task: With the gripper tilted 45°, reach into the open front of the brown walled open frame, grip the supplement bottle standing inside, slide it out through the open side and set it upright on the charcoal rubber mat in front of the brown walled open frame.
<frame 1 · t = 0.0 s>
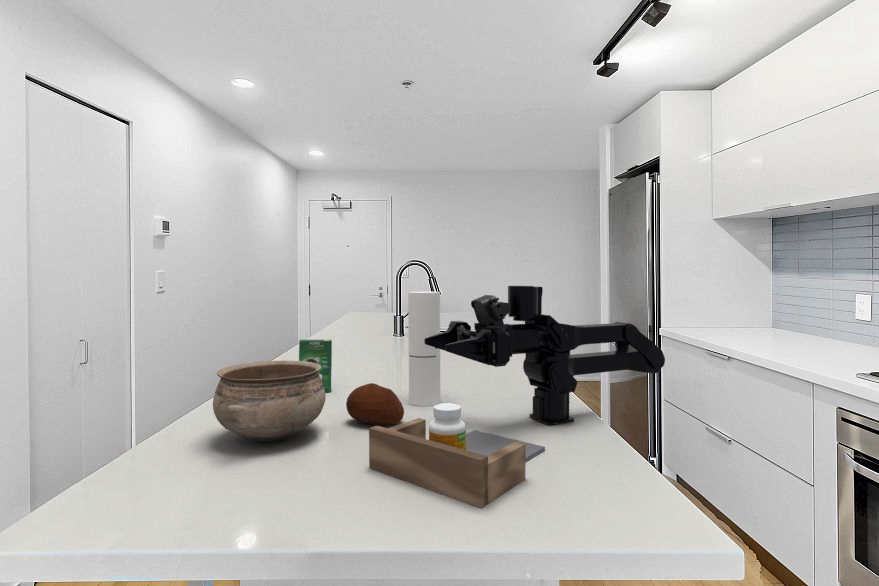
hand: (434, 344, 87), 17 cm above the countertop, tool horizontal, fingers open, 9 cm apart
cooking pot: (271, 438, 88), on the countertop
potato: (374, 425, 95), on the countertop
supplement bottle: (447, 473, 72), on the countertop
brown walled open frame: (447, 472, 72), on the countertop
coffee box: (315, 392, 121), on the countertop
cylindrical container: (424, 402, 112), on the countertop
mat: (489, 450, 81), on the countertop
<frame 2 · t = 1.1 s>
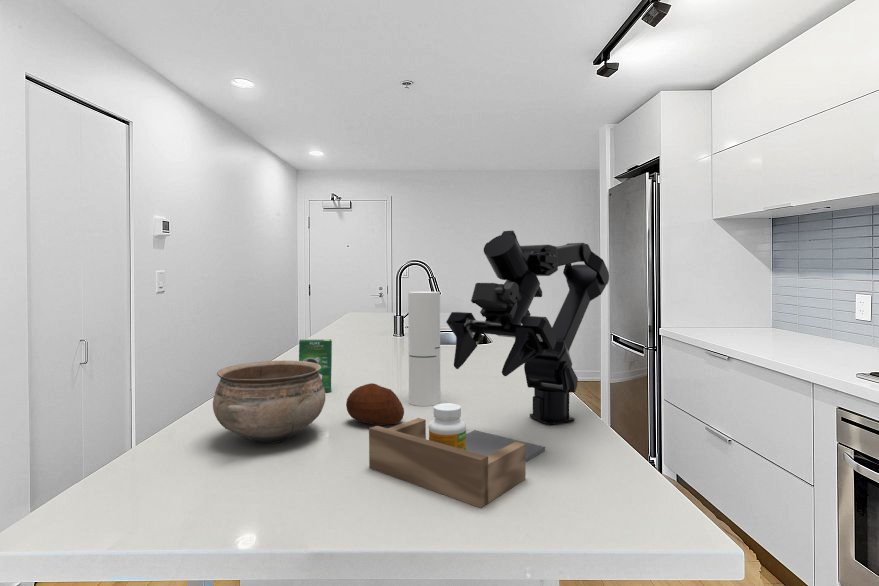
hand: (478, 370, 78), 14 cm above the countertop, tool tilted 45°, fingers open, 9 cm apart
nothing on the countertop moved.
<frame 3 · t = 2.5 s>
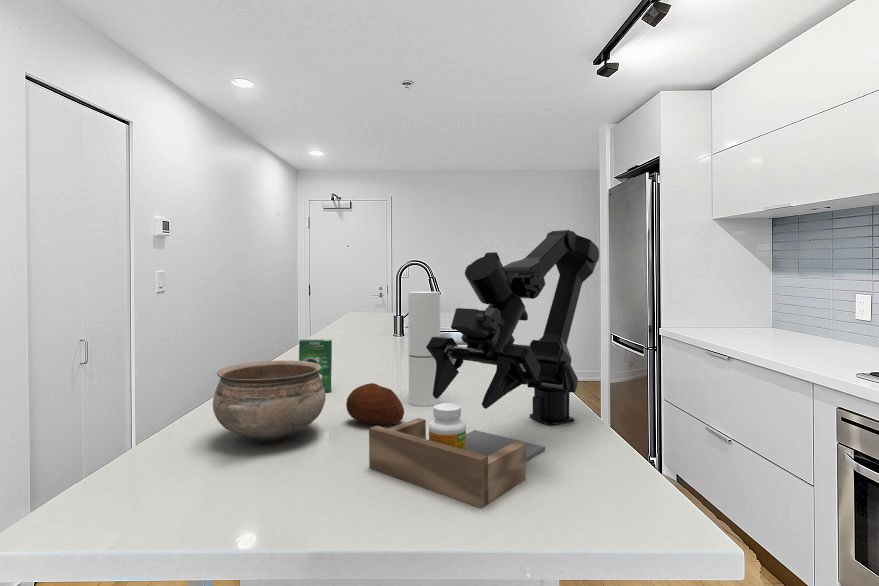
hand: (458, 401, 74), 10 cm above the countertop, tool tilted 45°, fingers open, 9 cm apart
nothing on the countertop moved.
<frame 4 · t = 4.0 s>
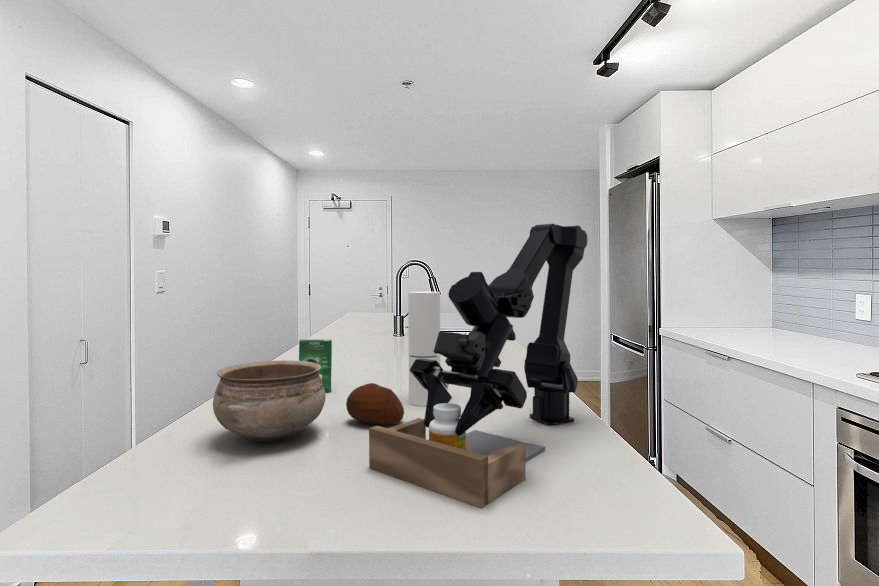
hand: (441, 429, 71), 7 cm above the countertop, tool tilted 45°, fingers closed on supplement bottle, 5 cm apart
supplement bottle: (447, 473, 72), on the countertop, touching gripper
everything else where it was.
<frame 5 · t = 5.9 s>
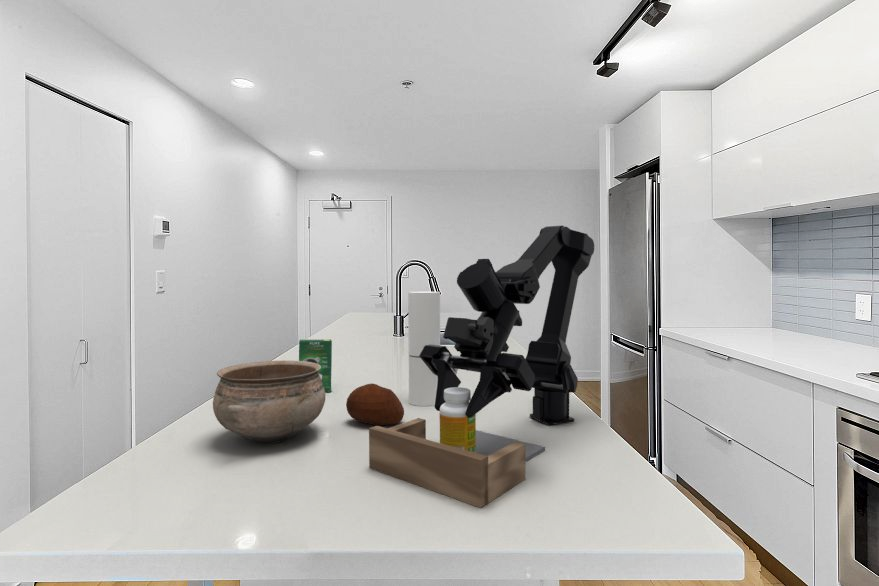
hand: (451, 412, 72), 9 cm above the countertop, tool tilted 45°, fingers closed on supplement bottle, 5 cm apart
supplement bottle: (457, 455, 74), point 2 cm above the countertop, touching gripper
everything else where it was.
when the fingers open (8 cm above the countertop, at t = 8.0 s): supplement bottle stays where it is, resting on mat.
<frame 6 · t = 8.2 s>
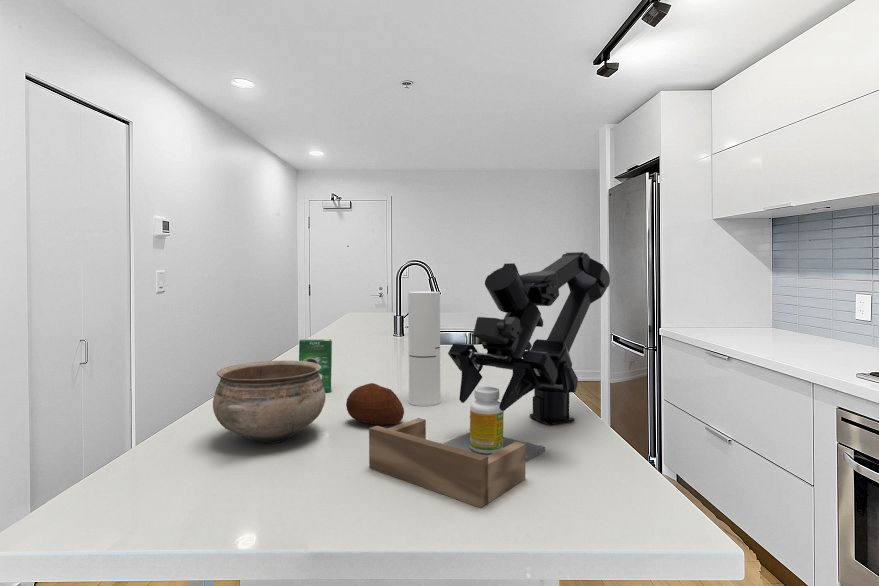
hand: (480, 405, 78), 8 cm above the countertop, tool tilted 45°, fingers open, 7 cm apart
supplement bottle: (486, 449, 80), resting on mat
everything else where it was.
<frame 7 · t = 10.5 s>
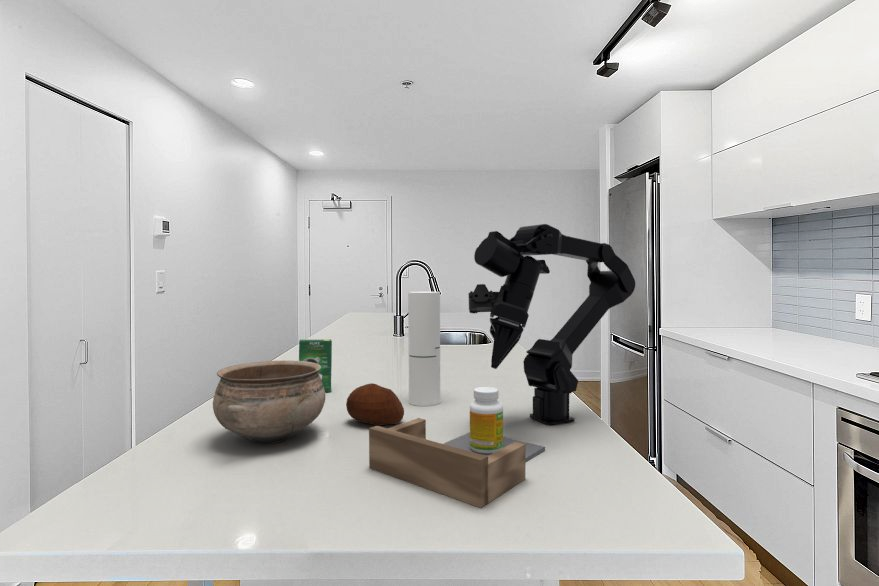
hand: (493, 366, 89), 12 cm above the countertop, tool tilted 25°, fingers open, 9 cm apart
nothing on the countertop moved.
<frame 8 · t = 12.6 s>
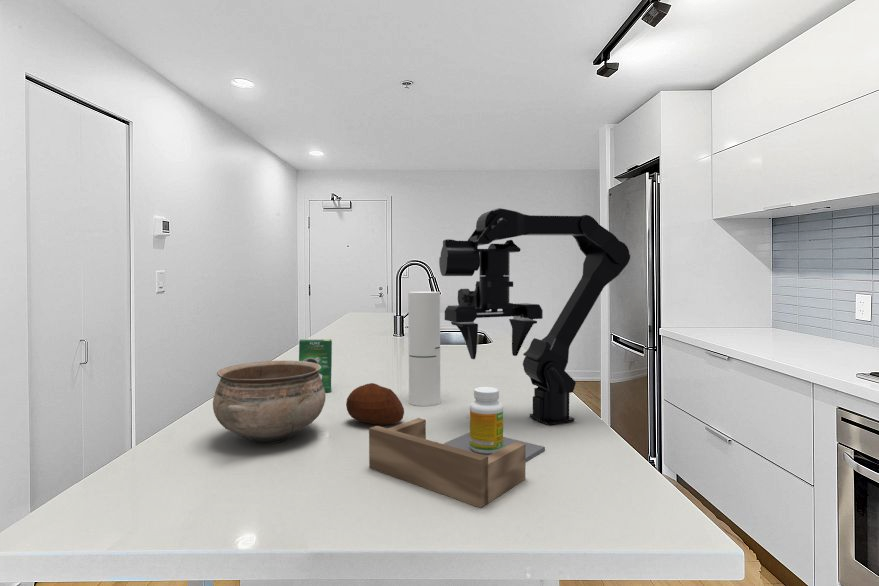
hand: (494, 357, 94), 13 cm above the countertop, tool pointing down, fingers open, 9 cm apart
nothing on the countertop moved.
at the end: supplement bottle inside the target area on the mat (1.0 cm from its centre), point 0.4 cm above the mat's base; supplement bottle tilted 0°; the gripper is holding nothing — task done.
